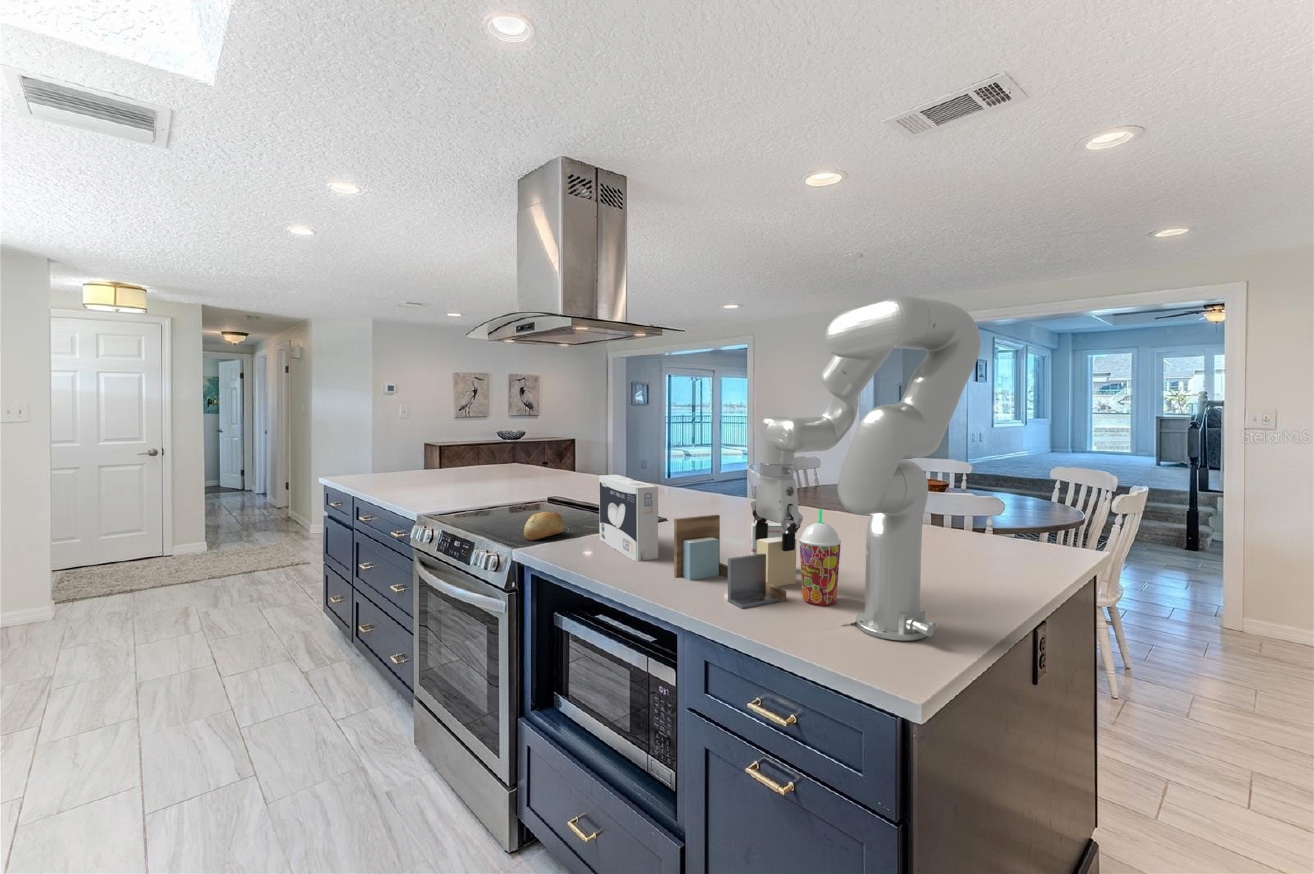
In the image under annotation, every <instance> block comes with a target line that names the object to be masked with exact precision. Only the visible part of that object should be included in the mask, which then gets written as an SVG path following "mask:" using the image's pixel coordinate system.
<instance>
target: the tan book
mask: <svg viewBox="0 0 1314 874" xmlns="http://www.w3.org/2000/svg"><path fill="white" fill-rule="evenodd" d="M757 554H766V582H767V583H769V584H772V585H774V586H776V587H781V586H786V585H788V586H789V585H792V584H797V539H796V538H795V549H794V550H792V551H782V536H781V537H773V538H765V539H758V540H757Z"/></svg>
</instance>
